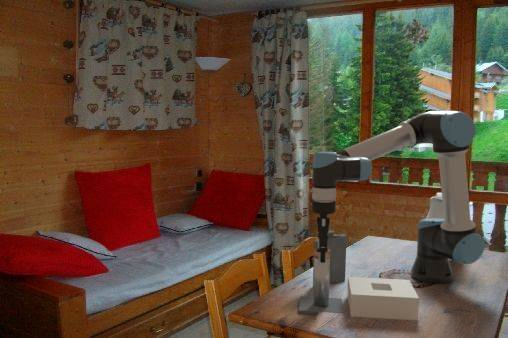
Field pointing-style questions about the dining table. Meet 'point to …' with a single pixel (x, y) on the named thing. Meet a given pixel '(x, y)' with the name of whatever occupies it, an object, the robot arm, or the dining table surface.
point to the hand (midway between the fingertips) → (322, 265)
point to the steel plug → (321, 282)
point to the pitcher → (436, 208)
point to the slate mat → (309, 308)
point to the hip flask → (335, 256)
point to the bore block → (382, 298)
